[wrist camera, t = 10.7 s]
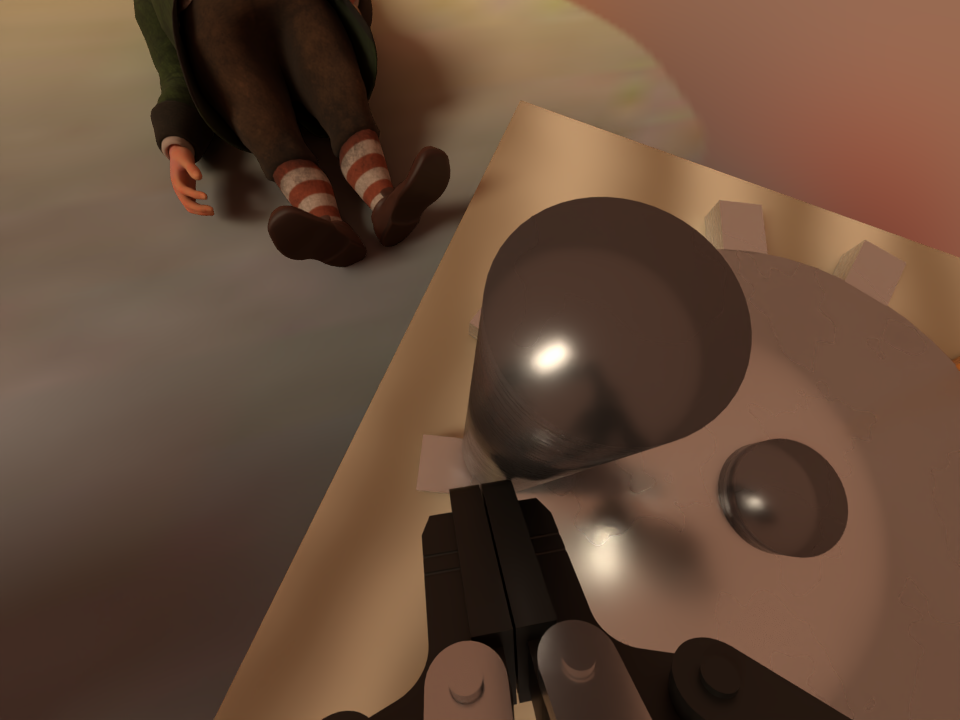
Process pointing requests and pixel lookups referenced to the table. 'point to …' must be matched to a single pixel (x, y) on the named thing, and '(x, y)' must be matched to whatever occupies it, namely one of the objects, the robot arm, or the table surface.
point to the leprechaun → (283, 113)
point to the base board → (444, 400)
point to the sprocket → (727, 446)
